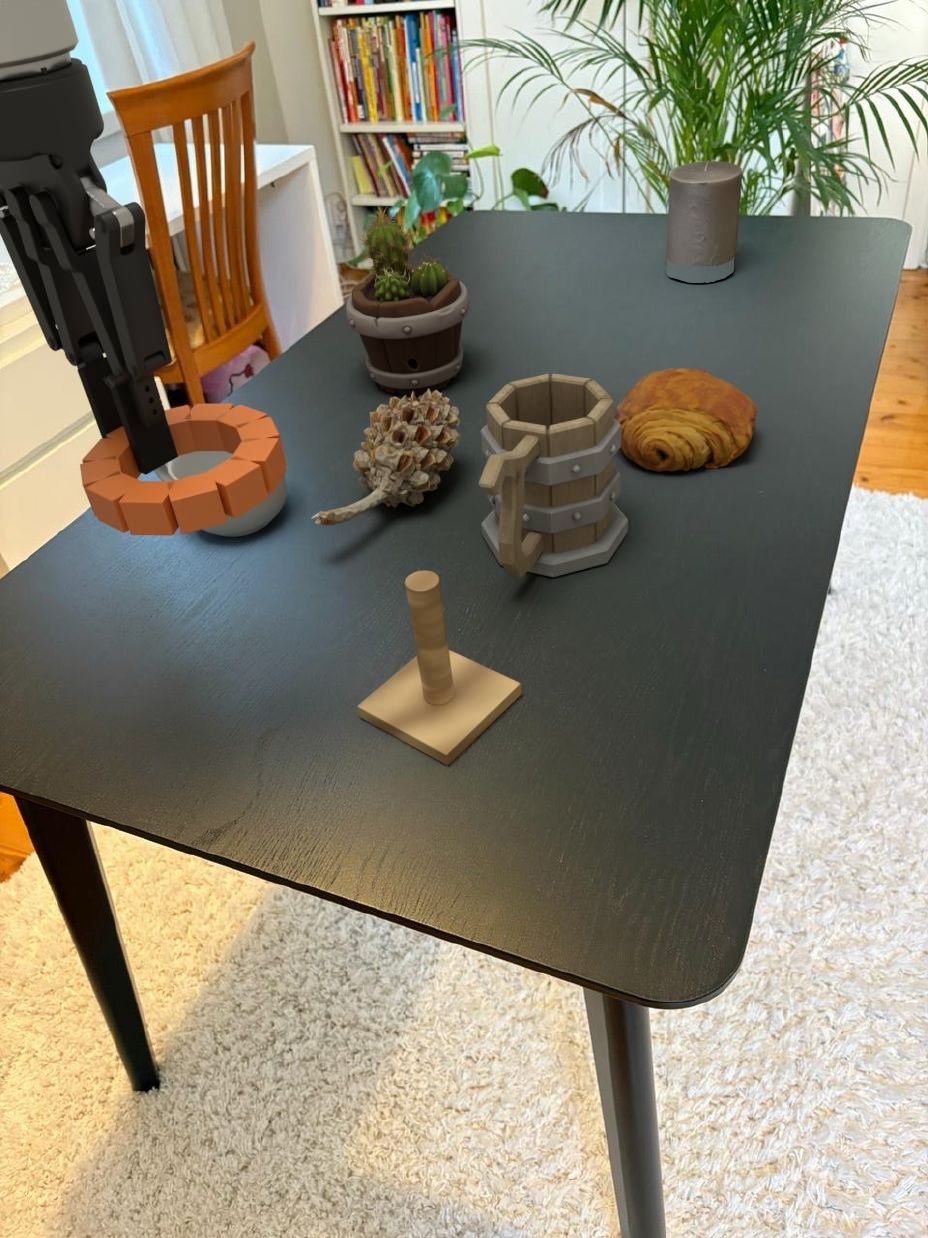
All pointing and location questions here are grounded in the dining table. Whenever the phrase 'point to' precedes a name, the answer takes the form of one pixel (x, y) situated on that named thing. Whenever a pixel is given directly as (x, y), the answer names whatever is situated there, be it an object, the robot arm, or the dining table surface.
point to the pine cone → (402, 453)
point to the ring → (196, 496)
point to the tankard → (551, 476)
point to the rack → (437, 685)
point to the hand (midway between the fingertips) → (143, 457)
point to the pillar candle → (703, 213)
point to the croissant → (684, 421)
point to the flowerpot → (407, 315)
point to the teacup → (234, 526)
